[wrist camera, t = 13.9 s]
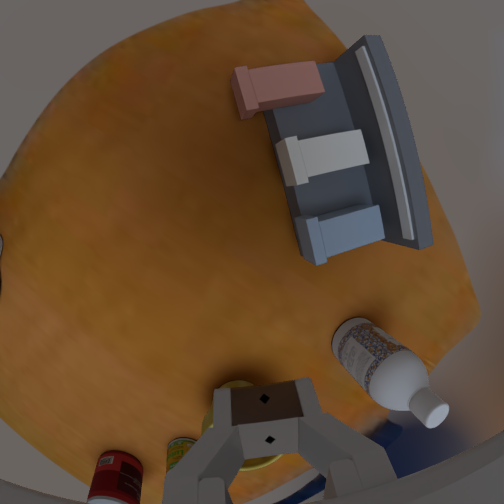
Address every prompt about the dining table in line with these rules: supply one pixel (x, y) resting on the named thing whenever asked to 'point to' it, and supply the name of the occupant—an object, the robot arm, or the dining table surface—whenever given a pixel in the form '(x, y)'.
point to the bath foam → (387, 370)
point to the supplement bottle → (177, 451)
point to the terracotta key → (275, 86)
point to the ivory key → (320, 155)
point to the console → (376, 142)
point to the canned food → (116, 480)
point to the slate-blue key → (338, 231)
